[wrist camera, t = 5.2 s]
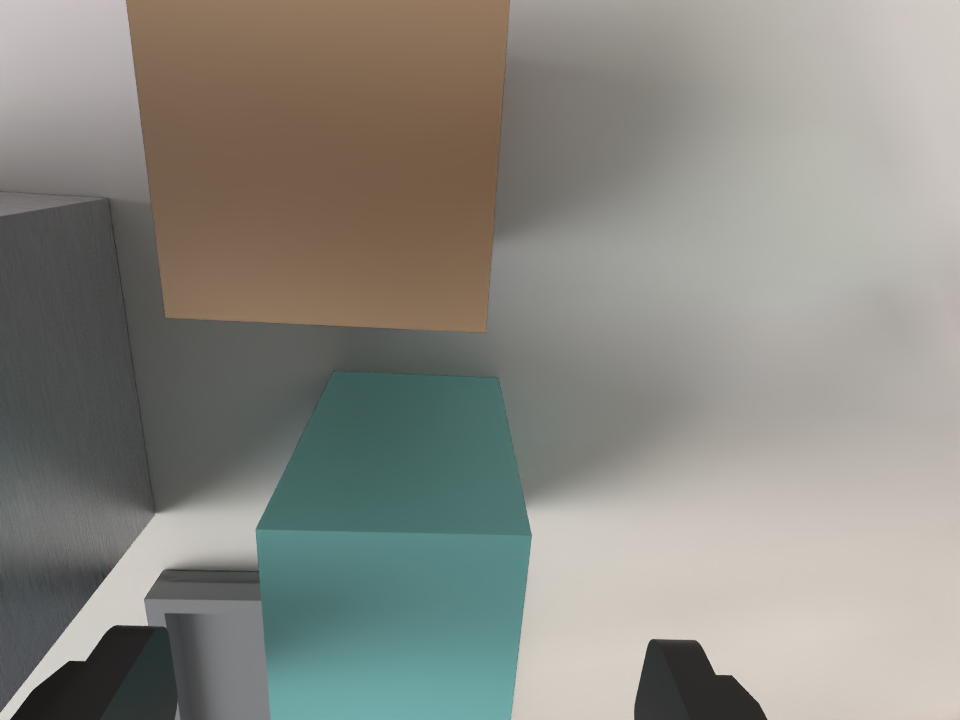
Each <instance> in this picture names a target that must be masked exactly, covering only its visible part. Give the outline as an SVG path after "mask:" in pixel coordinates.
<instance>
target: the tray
mask: <svg viewBox="0 0 960 720" xmlns="http://www.w3.org/2000/svg"><path fill="white" fill-rule="evenodd" d="M144 602H145V608H146V614H147V620H148V626H164V627H165V628H166V629H167V631H168V633H169V639H170V645H171V652H172V659H173V666H174V673H175V679H176V686H177V694H178V701H177V710H176V715H175V720H271V718H270V706H269V693H268V680H267V668H266V655H265V642H264V629H263V617H262V604H261V591H260V579H259V572H221V571H165V570H163V571H162V573H161V574H160V576H159V577H158V579H157V580H156V582H155V583H154V585H153V586H152V588H151V589H150V591H149V592H148V594H147V595H146V597H145V598H144Z"/></svg>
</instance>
